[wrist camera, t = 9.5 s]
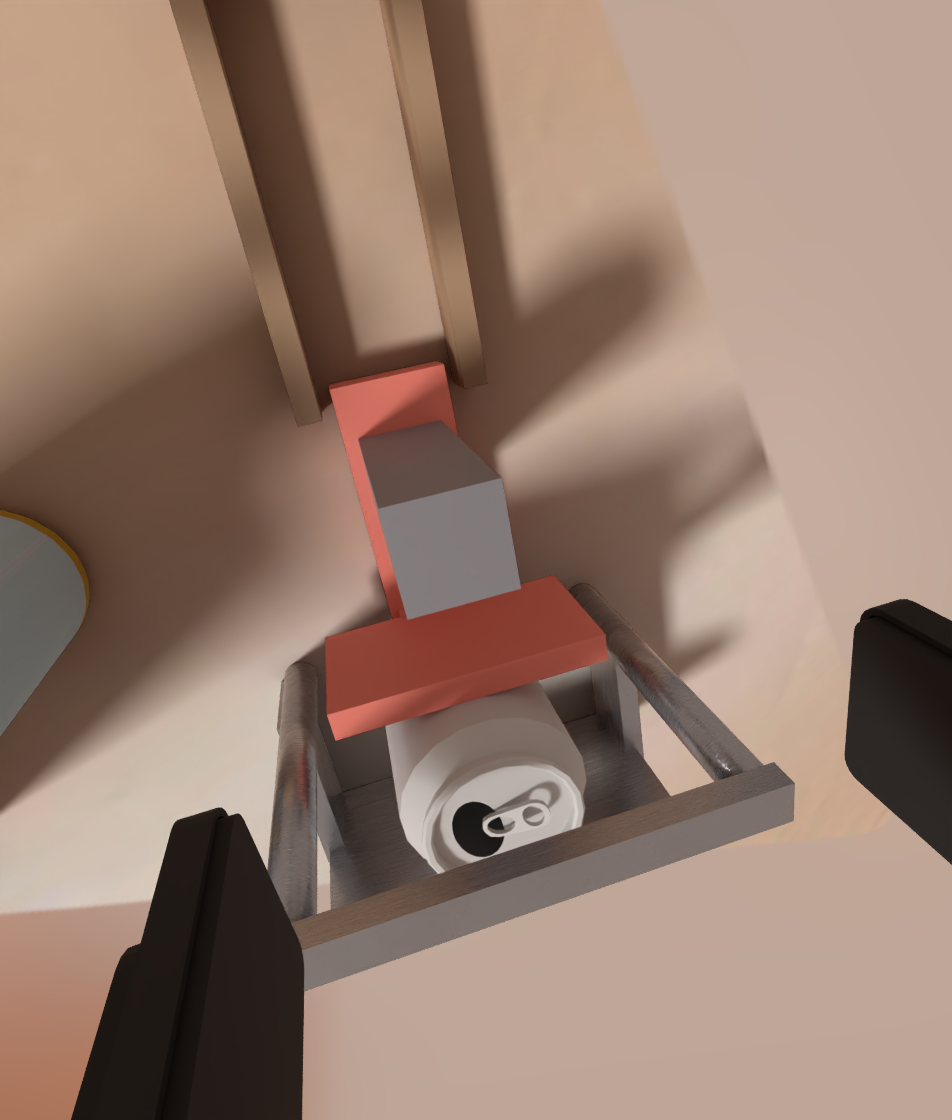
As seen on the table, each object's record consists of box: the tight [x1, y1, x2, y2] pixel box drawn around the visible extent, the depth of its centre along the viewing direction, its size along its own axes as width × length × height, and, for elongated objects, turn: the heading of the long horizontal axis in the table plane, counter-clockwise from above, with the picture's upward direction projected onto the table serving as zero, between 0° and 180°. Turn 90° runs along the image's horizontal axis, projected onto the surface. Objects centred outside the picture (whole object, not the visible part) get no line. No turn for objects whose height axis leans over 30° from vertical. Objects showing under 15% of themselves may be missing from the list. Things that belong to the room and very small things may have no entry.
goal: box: [267, 584, 795, 991], centre depth 28 cm, size 10×17×16 cm, turn 101°
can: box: [385, 681, 586, 874], centre depth 29 cm, size 8×8×12 cm
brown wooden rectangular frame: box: [169, 0, 488, 427], centre depth 24 cm, size 16×8×2 cm, turn 11°
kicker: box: [325, 361, 608, 740], centre depth 25 cm, size 12×11×12 cm
